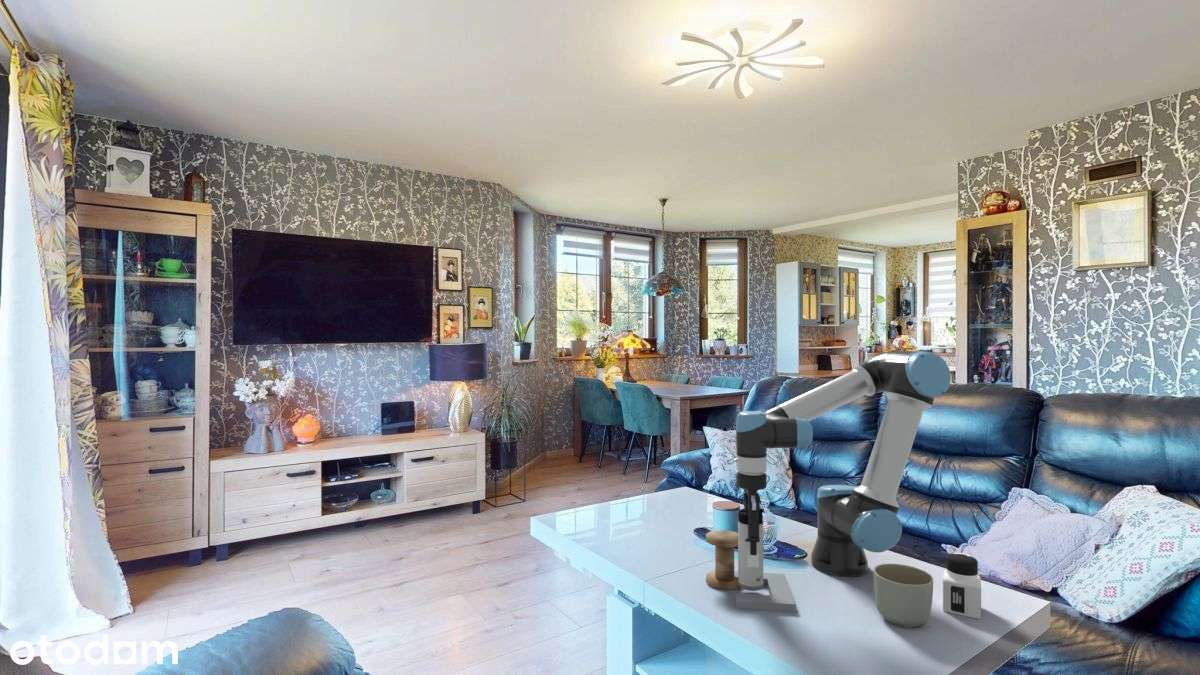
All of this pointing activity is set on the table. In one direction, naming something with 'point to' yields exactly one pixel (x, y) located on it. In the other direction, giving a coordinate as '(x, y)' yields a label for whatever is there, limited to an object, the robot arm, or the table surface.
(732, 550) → the bobbin
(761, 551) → the travel mug
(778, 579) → the notched board
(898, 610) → the planter
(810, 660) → the table surface
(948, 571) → the container
